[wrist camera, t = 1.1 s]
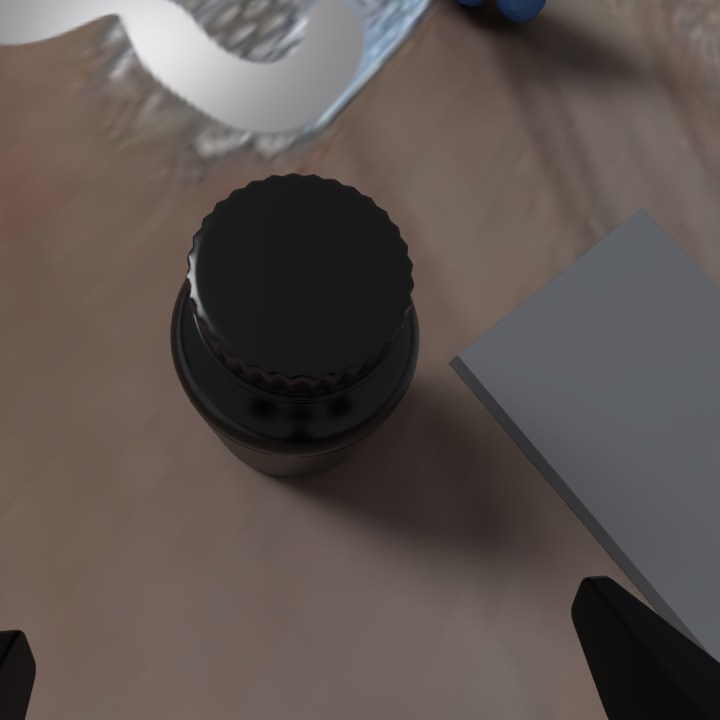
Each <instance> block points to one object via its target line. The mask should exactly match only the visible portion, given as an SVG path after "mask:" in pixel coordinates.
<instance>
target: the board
mask: <svg viewBox="0 0 720 720" xmlns="http://www.w3.org/2000/svg"><path fill="white" fill-rule="evenodd" d="M449 364H450V365H451V366H452V367H453V369H454V370H455V371H456V372H457V373H458V375H459V376H460V377H461V378H462V379H463V381H464V382H465V383H466V384H467V385H468V386H469V388H470V389H471V390H472V391H473V392H474V394H475V395H476V396H477V397H478V398H479V400H480V401H481V402H482V403H483V404H484V406H485V407H486V408H487V409H488V410H489V412H490V413H491V414H492V415H493V416H494V417H495V419H496V420H497V421H498V422H499V423H500V425H501V426H502V427H503V428H504V429H505V431H506V432H507V433H508V434H509V435H510V437H511V438H512V439H513V440H514V441H515V443H516V444H517V445H518V446H519V447H520V448H521V450H522V451H523V452H524V453H525V454H526V456H527V457H528V458H529V459H530V460H531V462H532V463H533V464H534V465H535V466H536V468H537V469H538V470H539V471H540V472H541V474H542V475H543V476H544V477H545V478H546V479H547V481H548V482H549V483H550V484H551V485H552V487H553V488H554V489H555V490H556V491H557V493H558V494H559V495H560V496H561V497H562V499H563V500H564V501H565V502H566V503H567V505H568V506H569V507H570V508H571V509H572V510H573V512H574V513H575V514H576V515H577V516H578V518H579V519H580V520H581V521H582V522H583V524H584V525H585V526H586V527H587V528H588V530H589V531H590V532H591V533H592V534H593V536H594V537H595V538H596V539H597V540H598V541H599V543H600V544H601V545H602V546H603V547H604V549H605V550H606V551H607V552H608V553H609V555H610V556H611V557H612V558H613V559H614V561H615V562H616V563H617V564H618V565H619V567H620V568H621V569H622V570H623V571H624V572H625V574H626V575H627V576H628V577H629V578H630V580H631V581H632V582H633V583H634V584H635V586H636V587H637V588H638V589H639V590H640V592H641V593H642V594H643V595H644V596H645V598H646V599H647V600H648V601H649V602H650V603H651V605H652V606H653V607H654V608H655V609H656V611H657V612H658V613H659V614H660V615H661V617H662V618H663V619H664V620H666V621H667V622H668V623H669V624H671V625H672V626H673V627H675V628H676V629H677V630H678V631H680V632H681V633H682V634H684V635H685V636H686V637H687V638H689V639H690V640H691V641H693V642H694V643H695V644H697V645H698V646H699V647H700V648H702V649H703V650H704V651H706V652H707V653H708V654H709V655H711V656H712V657H713V658H715V659H716V660H717V661H718V662H720V289H719V288H718V287H717V286H716V285H715V284H714V283H713V281H712V280H711V279H710V278H709V277H708V276H707V275H706V274H705V273H704V272H703V271H702V270H701V269H700V268H699V267H698V266H697V265H696V264H695V263H694V261H693V260H692V259H691V258H690V257H689V256H688V255H687V254H686V253H685V252H684V251H683V250H682V249H681V248H680V247H679V246H678V245H677V244H676V242H675V241H674V240H673V239H672V238H671V237H670V236H669V235H668V234H667V233H666V232H665V231H664V230H663V229H662V228H661V227H660V226H659V225H658V224H657V222H656V221H655V220H654V219H653V218H652V217H651V216H650V215H649V214H648V213H647V212H646V211H645V210H644V209H643V208H641V209H640V210H639V211H637V212H636V213H635V214H634V215H632V216H631V217H630V218H629V219H627V220H626V221H625V222H624V223H622V224H621V225H620V226H619V227H617V228H616V229H615V230H614V231H612V232H611V233H610V234H609V235H607V236H606V237H605V238H604V239H602V240H601V241H600V242H599V243H597V244H596V245H595V246H594V247H592V248H591V249H590V250H589V251H587V252H586V253H585V254H584V255H582V256H581V257H580V258H579V259H577V260H576V261H575V262H574V263H572V264H571V265H570V266H569V267H567V268H566V269H565V270H564V271H562V272H561V273H560V274H559V275H557V276H556V277H555V278H554V279H552V280H551V281H550V282H549V283H547V284H546V285H545V286H544V287H542V288H541V289H540V290H539V291H537V292H536V293H535V294H534V295H532V296H531V297H530V298H529V299H527V300H526V301H525V302H523V303H522V304H521V305H520V306H518V307H517V308H516V309H515V310H513V311H512V312H511V313H510V314H508V315H507V316H506V317H505V318H503V319H502V320H501V321H500V322H498V323H497V324H496V325H495V326H493V327H492V328H491V329H490V330H488V331H487V332H486V333H485V334H483V335H482V336H481V337H480V338H478V339H477V340H476V341H475V342H473V343H472V344H471V345H470V346H468V347H467V348H466V349H465V350H463V351H462V352H461V353H460V354H458V355H457V356H456V357H455V358H454V359H453V360H452V361H450V362H449Z"/></svg>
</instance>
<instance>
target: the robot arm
mask: <svg viewBox="0 0 720 720" xmlns="http://www.w3.org/2000/svg"><path fill="white" fill-rule="evenodd" d="M571 615H572V620H573V624H574V626H575V629H576V632H577V635H578V638H579V640H580V643H581V646H582V649H583V652H584V654H585V657H586V660H587V663H588V666H589V668H590V671H591V674H592V677H593V680H594V682H595V685H596V688H597V691H598V694H599V696H600V699H601V702H602V704H603V707H604V710H605V712H606V715H607V717H608V719H609V720H720V662H718V661H717V660H716V659H715V658H713V657H712V656H711V655H709V654H708V653H707V652H706V651H704V650H703V649H702V648H700V647H699V646H698V645H697V644H695V643H694V642H693V641H691V640H690V639H689V638H687V637H686V636H685V635H684V634H682V633H681V632H680V631H678V630H677V629H676V628H675V627H673V626H672V625H671V624H669V623H668V622H667V621H666V620H664V619H663V618H662V617H660V616H659V615H658V614H656V613H655V612H654V611H653V610H651V609H650V608H649V607H647V606H646V605H645V604H644V603H642V602H641V601H640V600H638V599H637V598H636V597H635V596H633V595H632V594H631V593H629V592H628V591H627V590H625V589H624V588H623V587H622V586H620V585H619V584H618V583H616V582H615V581H614V580H612V579H611V578H609V577H607V576H593V577H586V578H584V579H583V580H582V581H581V584H580V586H579V589H578V591H577V594H576V596H575V599H574V602H573V604H572V608H571ZM35 674H36V663H35V660H34V657H33V654H32V652H31V649H30V646H29V644H28V641H27V638H26V636H25V634H24V632H22V631H21V630H8V631H0V720H25V717H26V713H27V709H28V705H29V701H30V696H31V692H32V688H33V684H34V680H35Z"/></svg>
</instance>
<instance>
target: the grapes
mask: <svg viewBox="0 0 720 720" xmlns="http://www.w3.org/2000/svg"><path fill="white" fill-rule="evenodd" d="M456 1H457V2H458V3H461V4H464V5H467V6H470V7H474V6H477V5H480V4H483V2H484V1H485V0H456ZM545 2H546V0H496V4H497V6H498V7H499V9H500V11H501V12H502V13H503V15H504V16H505V17H506V18H507V19H510V20H513V21H516V22H519V23H523V22H526V21H529V20H532V19H533V18H534V17H535V16H536V15H537V14H538V12H539V11H540V10H541V9H542V8H543V7H544V5H545Z"/></svg>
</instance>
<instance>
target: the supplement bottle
mask: <svg viewBox="0 0 720 720" xmlns="http://www.w3.org/2000/svg"><path fill="white" fill-rule="evenodd" d="M407 253H408V245H407V244H406V243H405V241H404V240H403V239H402V238H401V237H400V231H399V228H398V227H397V226H396V225H395V224H394V223H393V222H391V221H390V219H389V216H388V214H387V212H386V211H384V210H383V209H381V208H379V207H377V206H376V204H375V203H374V201H373V200H372V198H370V197H367V196H365V195H361V194H360V193H359V192H358V191H357V190H356V189H355V188H354V187H351V186H345V185H342V184H341V183H339V182H338V181H337V180H335V179H323V178H320V177H319V176H317V175H314V174H313V175H306V176H302V175H299V174H296V173H291V174H288V175H285V176H278V175H271V176H270V177H268V178H266V179H265V180H260V181H252V182H250V183H249V184H248V185H247V186H246V187H245V188H241V189H237V190H234V191H233V192H232V193H231V194H230V196H229V197H228V198H227V199H225V200H222V201H220V202H218V203H217V204H216V206H215V208H214V210H213V212H212V213H210V214H209V215H207V216H206V217H205V218H203V221H202V227H201V229H200V230H199V231H198V232H197V233H196V234H195V235H194V236H193V248H192V249H191V251H190V252H189V254H188V256H187V261H188V266H189V269H188V271H187V274H186V279H185V281H184V283H183V285H182V287H181V289H180V291H179V294H178V297H177V299H176V302H175V306H174V310H173V314H172V321H171V333H170V341H171V352H172V357H173V362H174V366H175V369H176V372H177V375H178V378H179V380H180V382H181V384H182V387H183V389H184V391H185V393H186V394H187V396H188V398H189V400H190V401H191V403H192V404H193V406H194V407H195V408H196V410H197V411H198V412H199V414H200V415H201V416H202V418H203V419H204V420H205V421H206V422H207V424H208V425H209V426H210V427H211V429H212V430H213V431H214V432H215V434H216V435H217V436H218V437H219V439H220V440H221V441H222V442H223V444H224V445H225V446H226V447H227V448H228V449H229V450H230V451H231V452H232V453H233V454H234V455H235V456H236V457H237V458H238V459H240V460H241V461H243V462H244V463H245V464H247V465H249V466H250V467H252V468H254V469H256V470H258V471H261V472H264V473H267V474H270V475H275V476H281V477H304V476H310V475H314V474H317V473H320V472H323V471H325V470H328V469H330V468H332V467H334V466H335V465H337V464H339V463H340V462H342V461H343V460H344V459H346V458H347V457H348V456H349V455H351V454H352V453H353V452H354V451H355V450H356V449H357V448H358V447H359V446H360V445H361V444H362V443H363V442H364V441H365V440H366V439H367V438H368V437H369V436H370V435H371V434H372V433H373V432H374V431H375V430H376V429H377V428H378V427H379V426H380V425H381V424H382V423H383V422H384V421H385V420H386V419H387V418H388V417H389V416H390V415H391V413H392V412H393V411H394V410H395V408H396V407H397V405H398V404H399V402H400V401H401V399H402V398H403V396H404V394H405V392H406V391H407V389H408V387H409V384H410V382H411V380H412V377H413V374H414V371H415V368H416V364H417V359H418V352H419V325H418V318H417V314H416V309H415V306H414V303H413V300H412V297H411V295H410V294H411V292H412V290H413V288H414V282H413V279H412V276H411V272H412V268H413V264H412V262H411V260H410V258H409V257H408V255H407Z"/></svg>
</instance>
